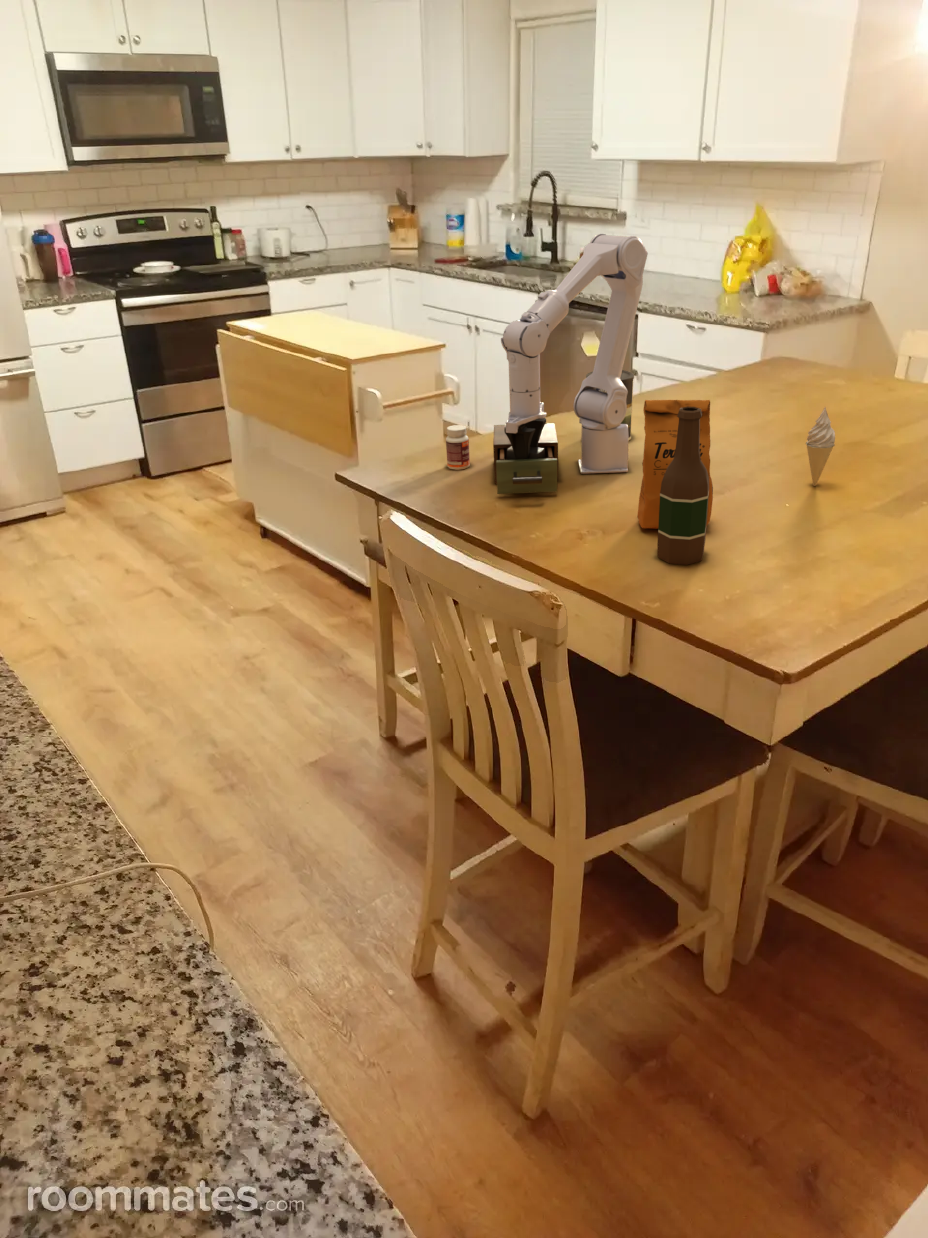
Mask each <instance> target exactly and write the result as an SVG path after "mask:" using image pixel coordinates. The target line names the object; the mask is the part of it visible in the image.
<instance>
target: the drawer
mask: <svg viewBox="0 0 928 1238" xmlns="http://www.w3.org/2000/svg"><path fill="white" fill-rule="evenodd" d="M538 448H545V459H520V460H507V449H508V448H500V460H496V471H497V484H496V493H497V495H508V494H509V495H510V494H533V493H534V494H537V493H557V492H558V482H557V458H553V455H552V449H551V446H547V447H538Z"/></svg>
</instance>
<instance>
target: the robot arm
mask: <svg viewBox="0 0 928 1238" xmlns="http://www.w3.org/2000/svg"><path fill="white" fill-rule="evenodd" d="M582 252H583V254H582V256H581V257H580V258H579V259H578V260H577V262H576V263H575V264H574V265H573V267H572V268H571V270H570V271H569V272H568V273H567V274H566V276H565V277H564V278H563V279H562V281H561V282H560V283H559V284H558V286H557V287H556V288H555V289H554V290H553V289H547V290H545V291H541V292H540V293H539V294H538V295H537V300H536V301H535V302H534V303H533V304H532V305H531V306H530V307H529V308H528V309H527V310H526V311H523V313H522V314H521V316H520V318H519V320H518V319H517V320H513V321H510V323H509V324H508V325H507V326H506V327H505V328H504V331H503V333H502V337H501V338H500V343H501V346H502V348H503V350H504V351H505V353H506V360H507V362H508V389H509V412H508V417H507V420H506V421H505V425H506V427H505V428H504V431H505V434H506V435H507V437H508V439H509V440H510V443H511V445H512V448H513V451H514V455H515V459H516V460H520V459H529V453H530V447H538V443H539V439H540V435H541V432H542V430H543V427H544V425H545V423H547V418H546V417H547V411H545V403H544V402H541V353H543V352H544V351H545V349H546V346H547V344H548V339H549V337H550V336H551V335H550V334H551V333H552V332H553V331H554V329H555V328H556V327H558V325H559V324H560V323H561V322H563V320H564V319H565V317H566V316H567V315H569V311H570V306H569V305H570V304H571V302H572V301H573V300H574V299H575V298H576V297H578V295H580V293H581V292H582V291H584V289H586V287H588V286H589V285H590V284H591V283H592V281H594V280H595V279H596V278H597V277H600V276H601V277H602V278H603V279H604V280H605V281H606V283H607V284H608V286H609V288H610V290H611V292H610V293H611V294H610V297H609V301H608V305H607V310H606V315H605V319H604V323H603V328H602V332H601V337H600V339H599V340H600V341H599V345H598V349H597V354H596V357H595V362H594V366H593V371H592V372H593V373H592V374H591V375H590V376H588V377H587V378H586V377H585V378H583V380H582V381H581V386H580V389H579V390H578V392H577V394H576V395H575V397H574V400H573V405H572V407H573V413H574V414H575V416H576V417H577V418H578V420H579V424H581V434H580V435H581V439H580V441H581V445H580V446H581V448H580V449H581V451H580V453H581V455H580V459H579V458H578V459H577V464H578V467H579V472H580V474H583V475H584V474H608V473H609V474H610V473H611V474H613V473H628V472H629V469H628V467H629V441H630V440H629V438H628V426H627V424H620V423H621V422H622V421H623V419H624V418H625V415H626V411H627V404H626V398H627V393H628V391H627V389H626V387H625V386H624V384H623V383H622V381H621V379H620V377H621V373H622V370H623V368H624V364H625V359H626V357H627V356H626V355H627V352H628V347H629V343H630V339H631V336H632V335H631V334H632V331H633V328H634V327H633V326H634V323H635V318H636V314H637V310H638V306H639V302H640V299H641V294H642V289H643V285H644V283H643V282H644V281H643V279H644V278H643V277H644V276H643V275H644V270H645V266H646V263H647V258H648V254H649V253H648V251H647V249H646V246H645V245H644V243H643V241H642V239H641V237H638V236H636V235H629V236H626V235H614V234H606V233H598V234H595V235H594V236H593V237H592V239H591V240H590V241H589V242H588V243H587V244H586V245H585V246H584V247H583V251H582ZM601 389H603V390H605V391H606V392H607V393H606V392H602V391H600V390H601Z"/></svg>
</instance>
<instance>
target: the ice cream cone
mask: <svg viewBox="0 0 928 1238" xmlns="http://www.w3.org/2000/svg"><path fill="white" fill-rule="evenodd" d="M831 424H832V421H831V419H830V417H829V413H828V410H827V407H826V406H824V408H823V409H822V412H821V413H820V415H819V416H818V418H817V419H815V424H814V425H813V427H811V429H810V430H809V431H808V432H807V434H808V435H807V437H806V442H805V445H806V450H807V456H808V462H809V463H808V464H809V468H810V474H811V480H812V486H813V487H816V486H817V484H818V482H819V480H820V477H821V476H822V473H823V471H824V468H825V466H826V464H827V462H828V460H829V457H830V456H831V454H832V453H831V452H832V450H833V449H834V447H835V446H836V445H835V442H836V432H835V431H836V430H835V429H834V428H833V427H832V425H831Z"/></svg>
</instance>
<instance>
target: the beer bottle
mask: <svg viewBox="0 0 928 1238" xmlns="http://www.w3.org/2000/svg"><path fill="white" fill-rule="evenodd" d="M677 417H678V418H679V424H678V432H677V441H676V449H675V455H674V459H673V460H672V462H671V463H670V464H669V466H668V467H667V469H666V472H665V474H664V477H663V480H662V483H661V490H660V505H659V524H658V529H657V544H656V545H657V548H656V550H657V554H656V555H657V558H658V559H660V560H662V561H664V562H666V563H668V564H669V565H682V566H689V565H693V564H695V563H699V562H702V560H703V558H704V557H703V556H704V553H705V546H706V534H707V526H706V524H707V512H708V499H709V476H708V472H707V469H706V467H705V466H704V464H703V463H702V461H701V458H700V418H701V417H702V411H701V409H700V408H697V407H689V406H687V407H683V408H680V410H679V412H678V415H677Z"/></svg>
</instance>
